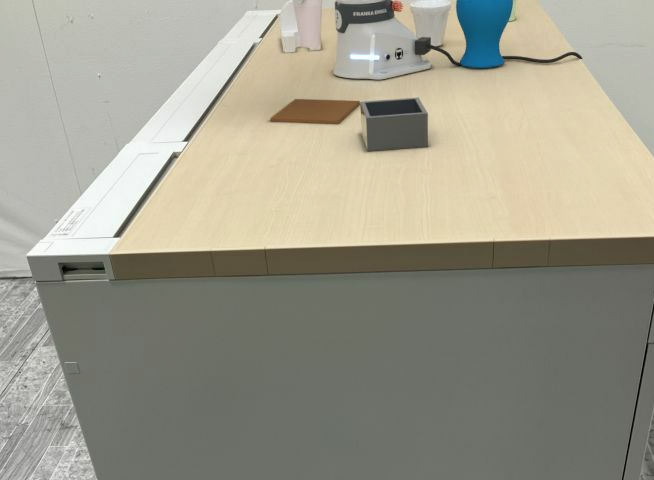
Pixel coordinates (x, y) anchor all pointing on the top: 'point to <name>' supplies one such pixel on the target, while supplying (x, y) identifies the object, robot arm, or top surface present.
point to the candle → (513, 11)
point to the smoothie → (309, 22)
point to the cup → (431, 19)
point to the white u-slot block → (290, 29)
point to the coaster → (315, 111)
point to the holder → (394, 124)
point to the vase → (483, 30)
